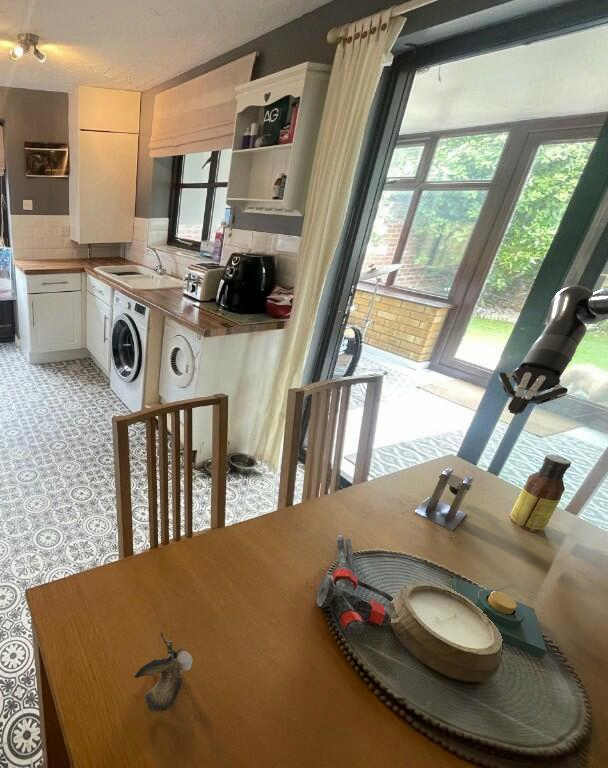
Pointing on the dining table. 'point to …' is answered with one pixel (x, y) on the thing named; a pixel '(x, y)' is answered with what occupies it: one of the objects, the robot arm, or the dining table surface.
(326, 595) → the valve
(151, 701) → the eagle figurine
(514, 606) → the button
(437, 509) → the grey metal stand
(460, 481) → the lever handle
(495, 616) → the green button base
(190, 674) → the dining table surface
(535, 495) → the sauce bottle
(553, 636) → the dining table surface
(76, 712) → the dining table surface
